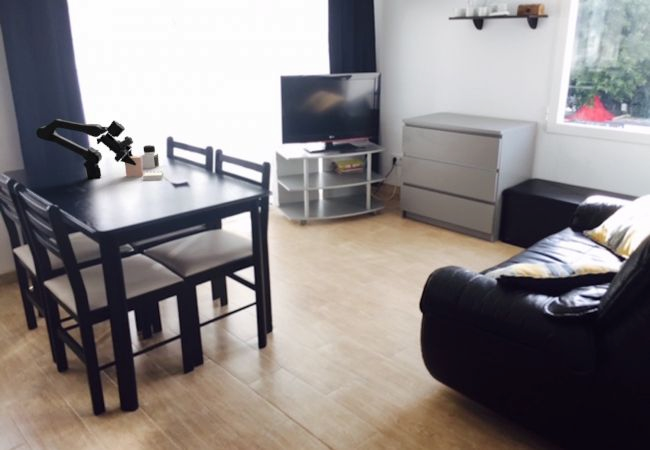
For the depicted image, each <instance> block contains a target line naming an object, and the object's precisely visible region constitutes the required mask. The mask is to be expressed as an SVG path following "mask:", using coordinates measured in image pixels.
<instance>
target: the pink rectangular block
mask: <svg viewBox="0 0 650 450" xmlns="http://www.w3.org/2000/svg"><path fill="white" fill-rule="evenodd" d="M130 157H131V158H132V160H133V161H134V162H135V163H136V165H132V164H128V163H125V162H124V166H125V174H126V175H125V176H126V177H127V178H130V177H143V175H144V174H145V173H144V168H143V164H142V155H133V156H130Z"/></svg>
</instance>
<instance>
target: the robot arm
mask: <svg viewBox="0 0 650 450" xmlns="http://www.w3.org/2000/svg"><path fill="white" fill-rule="evenodd" d="M57 129H65V130H68V131H74V132H75V131H76V132H79V133H82V134H83V133H84V134H85V135H87V136H90V137H93V138H96V144H97V145H99V144H100V143H102V144H103V145H105V147H107V148H108V150H109V151H110V152H113V153H114V154H115V156H114V161H116V162H117V163H119V162H122V163H124V164H125V163H128V164H132V165H136V163H135V162H134V161H133V160H132V158H131V157H130V156H134V155H133V153H132V148H133V147H132V146H131V145H132V144H134V140H133V138H132V137H130V136H127V135H126V136H125V137H124V139H123V140H119V139H118V140H117V139H116V138H119V136H121V134H122V133H123V132H124V131H125V130H126V128H125V126H123V125H122V124H121V123H119V122H118V121H116V120H112V122H111V123H110V125H109V126H102V125H101V124H97V123H87V124H85V123H81V122H77V121H76V122H75V121H70V120H64V119H61V118H55V120H53V121H52V122H50V123H49V124H47V125H44V126H41V127H39V128H37V129H36V136H37V139H41V140H43V141H46V142H51V143H55V144H57V145H59V146H61V147H63V148H65V149H67V150H69V151H71V152H73V153H74V154H77V155H79V156H81V157H82V159H84V161H85V162H84V163H83V166H84V169H85V173H86V176H85V177H86V179H87V180H95V179H101V177H102V172H101V168H100V166H99V163H100V162H101V161H102V158H103V155H102V153H101V152H100V151H99V149H95V148H94V147H92V146H90V147H88V148H86V147H84V146H82V145H80V144H78V143H76V142H74V141H72V140H70V139H68V138H66V137H63V136H61V135H60V134H58V133H57V131H56V130H57ZM106 132H107V133H106ZM105 133H106V134H105Z"/></svg>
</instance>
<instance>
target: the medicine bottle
mask: <svg viewBox="0 0 650 450" xmlns="http://www.w3.org/2000/svg"><path fill="white" fill-rule="evenodd" d="M142 149H143V154H142V155H141V156H142V165H143V169H145V168H147V169H149V168H150V169H151V168H157V167H158V166H160V163H159V162H160V161H159V153H158V152H156V148H155V145H153V144H152V145H151V144H149V145H144V146H143V148H142Z"/></svg>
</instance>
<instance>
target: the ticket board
mask: <svg viewBox="0 0 650 450" xmlns="http://www.w3.org/2000/svg"><path fill="white" fill-rule="evenodd" d="M143 174H144V175H143V176H142V177H143V181H152V180H153V181H155V180H162V179H164V177H165V175H164V171H146V172H145V173H143Z"/></svg>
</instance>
